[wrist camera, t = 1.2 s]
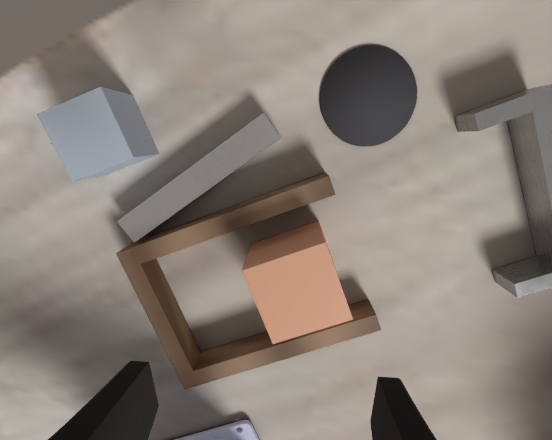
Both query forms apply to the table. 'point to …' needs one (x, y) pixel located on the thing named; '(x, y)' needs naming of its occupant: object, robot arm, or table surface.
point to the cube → (295, 283)
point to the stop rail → (525, 178)
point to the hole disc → (368, 95)
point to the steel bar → (200, 177)
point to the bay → (247, 351)
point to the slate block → (98, 133)
